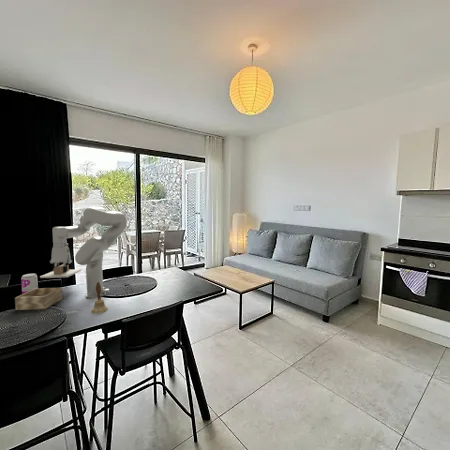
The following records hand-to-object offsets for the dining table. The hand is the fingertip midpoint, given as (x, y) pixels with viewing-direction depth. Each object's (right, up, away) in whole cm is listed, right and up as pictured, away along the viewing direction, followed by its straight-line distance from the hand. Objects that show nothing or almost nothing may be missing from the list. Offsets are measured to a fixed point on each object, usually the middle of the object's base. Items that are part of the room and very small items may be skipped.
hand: (61, 271), depth 168 cm
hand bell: (+40, -16, -29) cm, 52 cm away
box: (+1, -16, -20) cm, 26 cm away
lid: (0, -1, 0) cm, 1 cm away
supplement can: (-16, -16, -6) cm, 23 cm away
